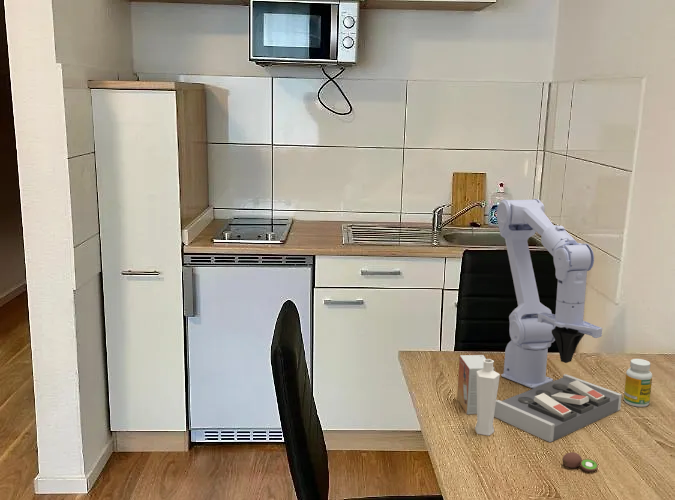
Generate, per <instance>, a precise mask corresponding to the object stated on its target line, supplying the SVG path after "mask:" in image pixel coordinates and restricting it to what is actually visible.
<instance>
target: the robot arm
mask: <svg viewBox="0 0 675 500" xmlns="http://www.w3.org/2000/svg"><path fill="white" fill-rule="evenodd" d="M545 209H546V208H545V205H544V203H543V202H542V201H541V199H540V198H539V199H538V198H533V199H501V201H500V203H499V204H498V206H497V210H496V220H497V226H498V230H499V231H498V232H499V234H500V236H501V237H502V238H504V240H505V246H506V251H507V256H508V261H509V266H510V272H511V276H512V280H513V281H512V282H513V286H514V292H515V297H516V301H517V307H516V308H514V309H513V310H512V312H511V313H509V316H508V320H509V321H508V322H509V330H508V331H509V337H510V341H509V342H508V343H507V344H506V347H505V351H504V361H503V362H504V364H503V373H501V374H500V375H501V377H503V378H504V379H508V380H510V381H513V382H515V383H518V384H521V385H523V386H525V387H528V388H529V389H534V388H537V387H539V386H542V385H545V384H547V383H550V382H553V381H554V378H551V377H548V376H546V375H547V364H548V349H549V348H550V347H551V346H552V343H554V342H555V343H556V346H557V349H558V353H559V358H560V362H562V363H565V364H568V363H571V362H572V361H573V357H574V353H575V352H576V349H577V347H578V345H579V344H580V342H581V340H582V339H583V337H584V336H585V335H588V336H591V337H592V338H594V339H599V338H601V337H602V336H603V335H602V334H603V327H601V326H598V325H595V324H592V323H590V322H588V321H586V320H584V316H585V315H584V313H585V303H586V291H587V277H588V272H589V271H591V270H592V268H593V267H594V262H595V255H594V251H593V249H592V247H591V246H590V244H588V243H581V242H578V241H576V239H575V238H574V237H572V235H571V234H569V232H568V231H567V230H566V228H565V226H563V225H556V224H555V225H554V223H552V221H551V220H550V218H549V217H548V216H547V215H546V213H545V211H546V210H545ZM536 233H537V234H538V235H539V236H540V237H541V238H540V242H541V244H542V246H543V247H544V248H545V250H546V251H547V252H549V254H550V255H551V256H552V258H553V259H552V260H553V265H554V268H555V278H556V279H557V286H556V287H557V288H556V300H555V314H554V313H552V310H551V309H550V308H549V307H547V306H545V305H544V304H543V303H542V302H540V296H539V291H538V286H537V282H536V277H535V272H534V268H533V262H532V257H531V252H530V247H529V243H528V241H529V238H531V237H533V236H535V234H536Z"/></svg>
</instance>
